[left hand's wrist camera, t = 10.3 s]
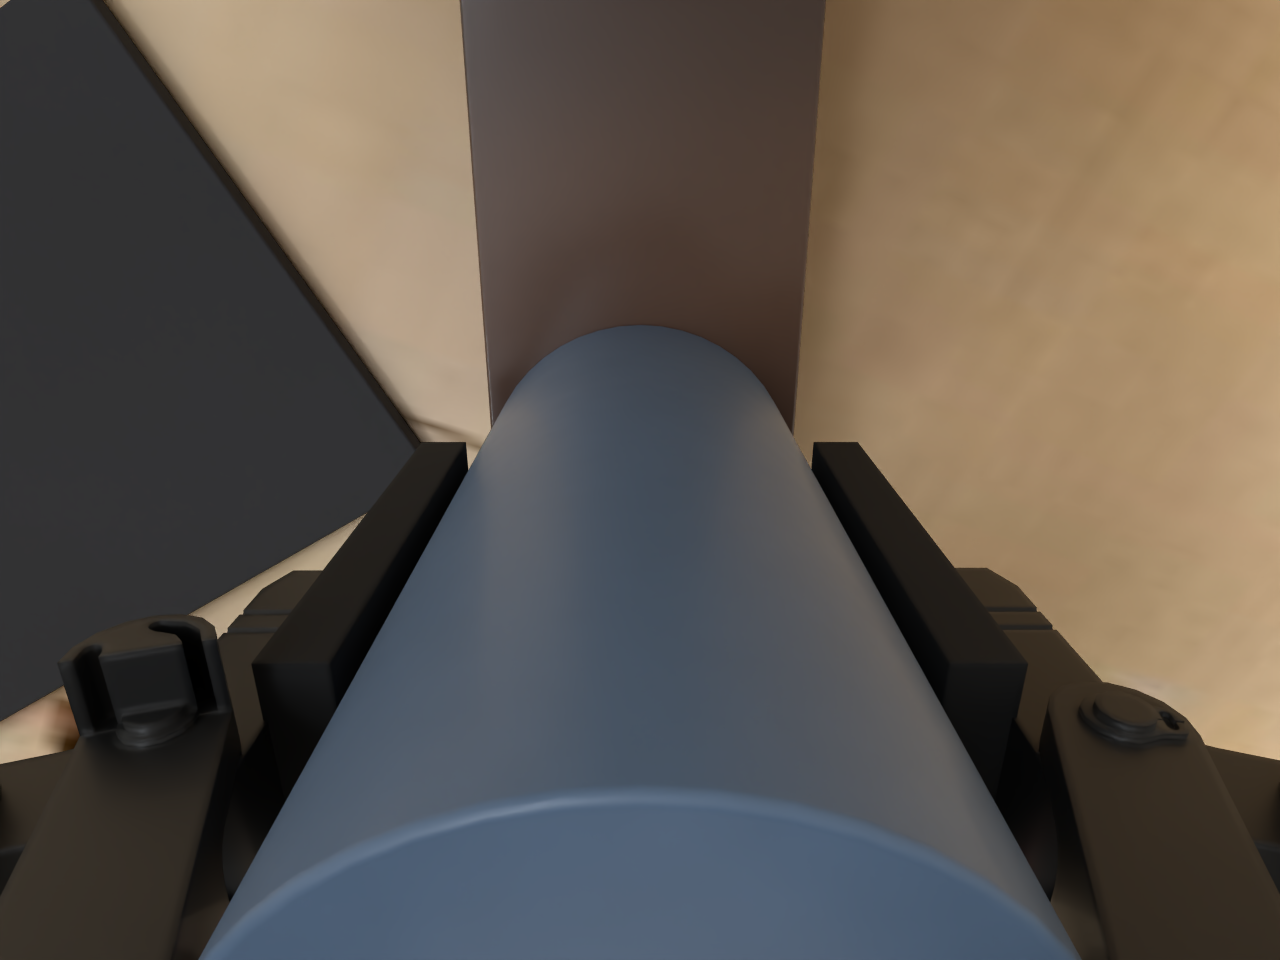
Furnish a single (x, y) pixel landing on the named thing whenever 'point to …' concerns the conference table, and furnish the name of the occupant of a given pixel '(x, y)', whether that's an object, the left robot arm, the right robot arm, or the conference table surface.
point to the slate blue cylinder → (640, 715)
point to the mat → (150, 360)
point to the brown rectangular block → (643, 174)
